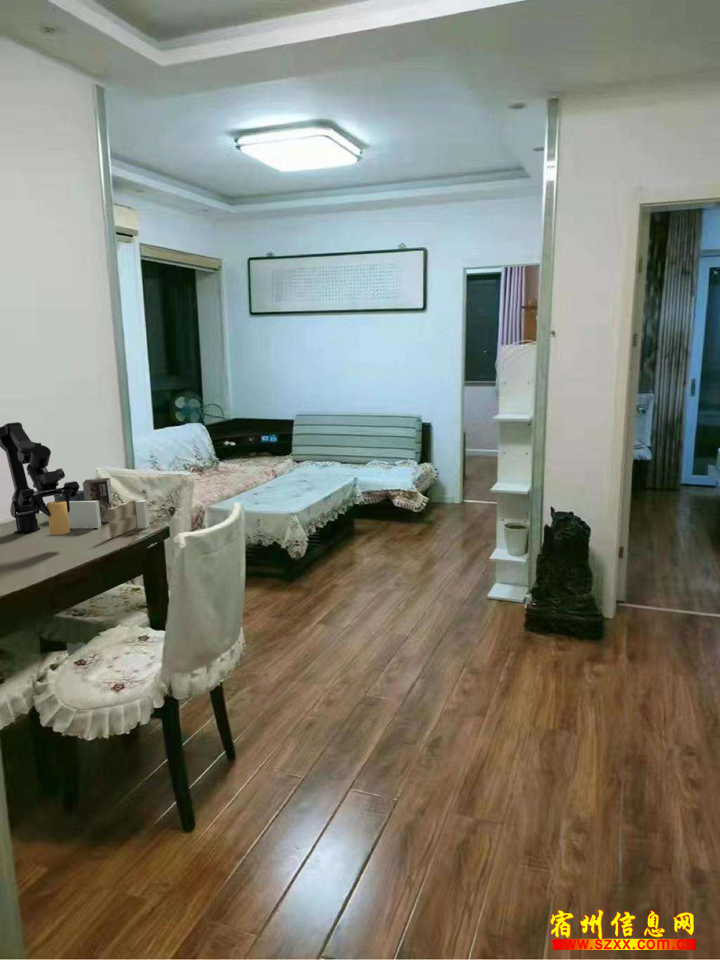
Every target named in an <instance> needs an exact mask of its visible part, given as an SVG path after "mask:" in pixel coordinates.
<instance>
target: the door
mask: <svg viewBox="0 0 720 960" xmlns="http://www.w3.org/2000/svg"><path fill="white" fill-rule="evenodd" d="M135 502H136V500H135V499H133V500H132V499H131V500H129V501H125V502H123V503H121V504H118V505H116V506H113V507H112V508H110V509H107V510H108V519H109V522H108V527H109V534H110V535H109V536H110V538H116V537H118V535H119V536H120V535H123V534H125V533H127V532H129V531H132V530H134V529H136V528H137V529H138V524H137V514H136V505H135Z"/></svg>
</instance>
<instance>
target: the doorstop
mask: <svg viewBox="0 0 720 960" xmlns="http://www.w3.org/2000/svg"><path fill="white" fill-rule="evenodd" d="M45 504H46V506H47V508H48V510H49V512H50V514H51V515H50V516H47V520H48V526H49V533H50V536H52V535H53V536H59V535H60V536H61V535H64V534H68V533H70V532H71V528H69V520H68V512H67V504H66V501H55V500H54V501H49V502H48V503H47V502H46V503H45Z"/></svg>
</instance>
